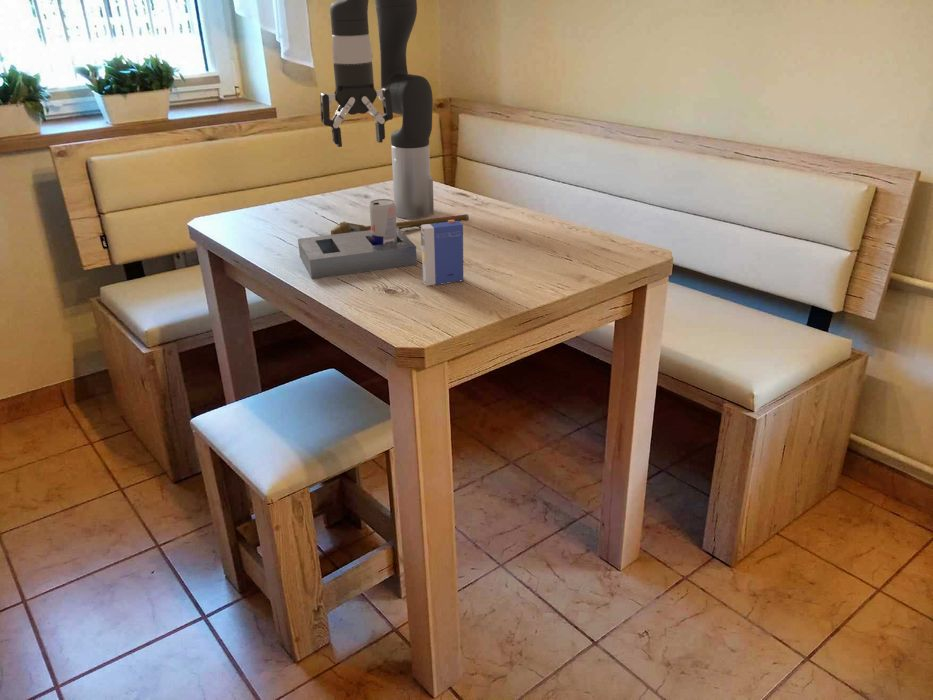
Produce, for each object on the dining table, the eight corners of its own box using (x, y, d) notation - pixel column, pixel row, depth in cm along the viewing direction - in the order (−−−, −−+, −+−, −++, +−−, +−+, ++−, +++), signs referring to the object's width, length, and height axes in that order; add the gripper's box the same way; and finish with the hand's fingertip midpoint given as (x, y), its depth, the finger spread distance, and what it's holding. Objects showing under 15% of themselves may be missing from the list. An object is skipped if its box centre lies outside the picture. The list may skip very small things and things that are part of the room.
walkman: (458, 276, 151) (458, 218, 145) (463, 281, 148) (463, 222, 143) (421, 281, 148) (419, 223, 143) (425, 286, 146) (423, 227, 140)
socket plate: (398, 244, 168) (397, 226, 167) (416, 264, 157) (416, 246, 155) (299, 256, 161) (297, 238, 160) (311, 278, 150) (309, 260, 148)
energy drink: (373, 252, 163) (369, 198, 158) (397, 252, 164) (395, 198, 158) (372, 261, 158) (368, 206, 153) (397, 260, 159) (395, 205, 153)
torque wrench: (461, 223, 187) (471, 229, 184) (328, 239, 171) (335, 247, 168) (463, 205, 185) (472, 211, 182) (328, 219, 169) (335, 227, 165)
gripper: (382, 55, 151) (387, 137, 158) (312, 59, 146) (321, 144, 154) (393, 59, 145) (398, 144, 152) (320, 64, 140) (329, 151, 148)
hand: (359, 144), depth 153 cm, fingers open, 8 cm apart
